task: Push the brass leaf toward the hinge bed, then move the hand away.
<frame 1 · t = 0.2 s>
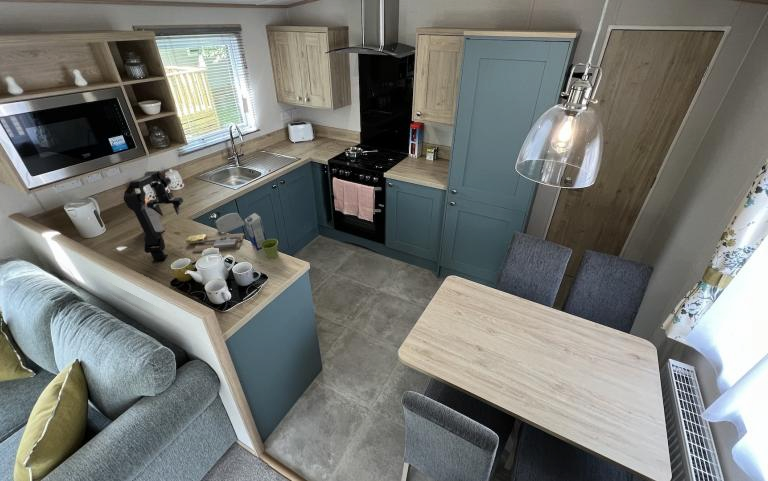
hand: (170, 215, 210), 14 cm above the kitchen counter, fingers open, 9 cm apart
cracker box: (156, 229, 224), on the kitchen counter
grey rounded flat block: (230, 227, 223), on the kitchen counter
brass leaf: (196, 238, 208), point 3 cm above the kitchen counter, slide at 8.0 cm
hinge bed: (219, 243, 207), on the kitchen counter
milk carton: (260, 246, 204), on the kitchen counter
plant pot: (272, 256, 195), on the kitchen counter
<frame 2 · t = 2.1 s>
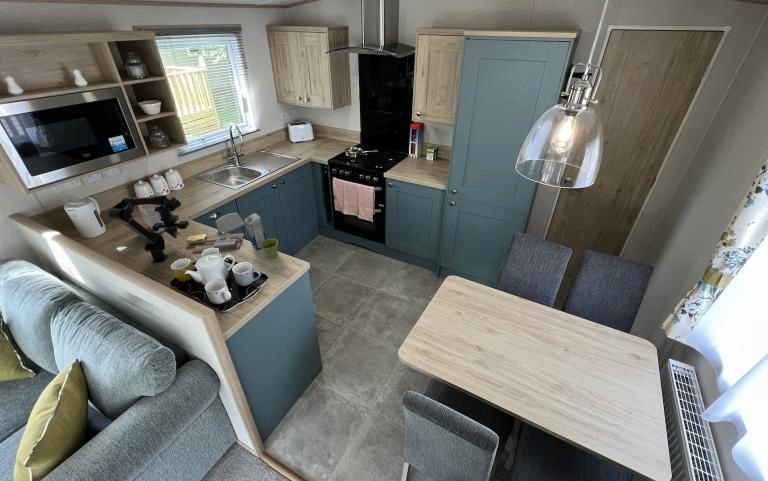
hand: (175, 238, 205), 5 cm above the kitchen counter, fingers closed
nothing on the kitchen counter moved.
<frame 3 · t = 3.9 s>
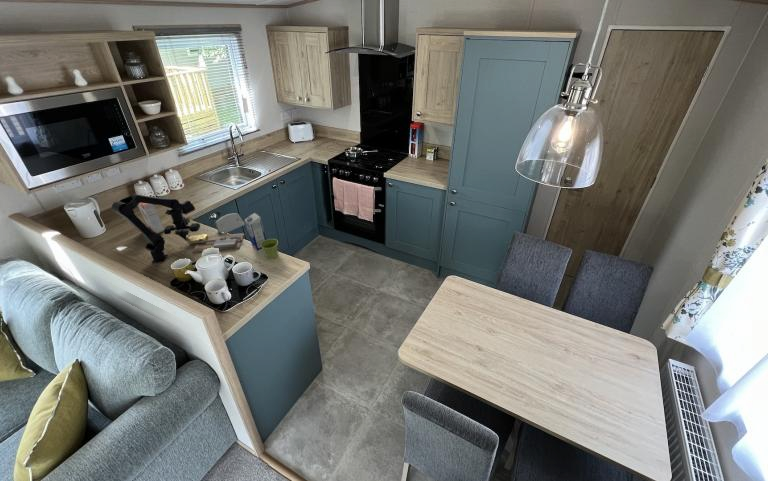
hand: (187, 240, 207), 2 cm above the kitchen counter, fingers closed
brass leaf: (197, 238, 208), point 3 cm above the kitchen counter, slide at 7.3 cm, touching gripper
everything else where it was.
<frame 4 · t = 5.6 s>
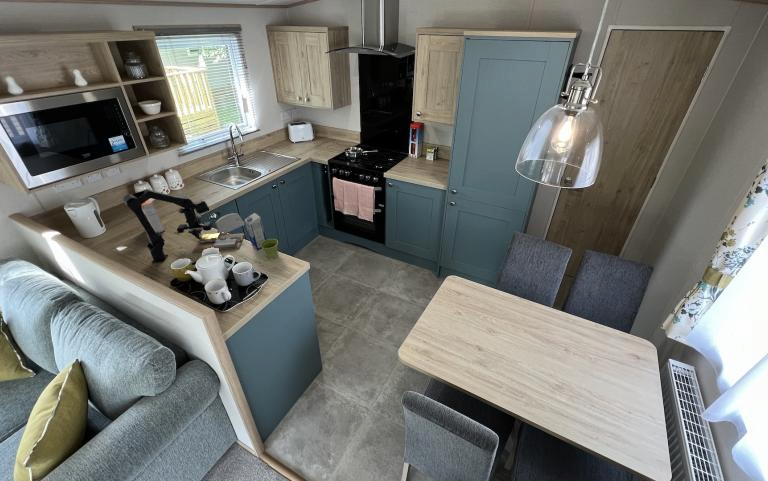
hand: (199, 239, 208), 2 cm above the kitchen counter, fingers closed
brass leaf: (210, 237, 209), point 3 cm above the kitchen counter, slide at 0.0 cm, touching gripper
everything else where it was.
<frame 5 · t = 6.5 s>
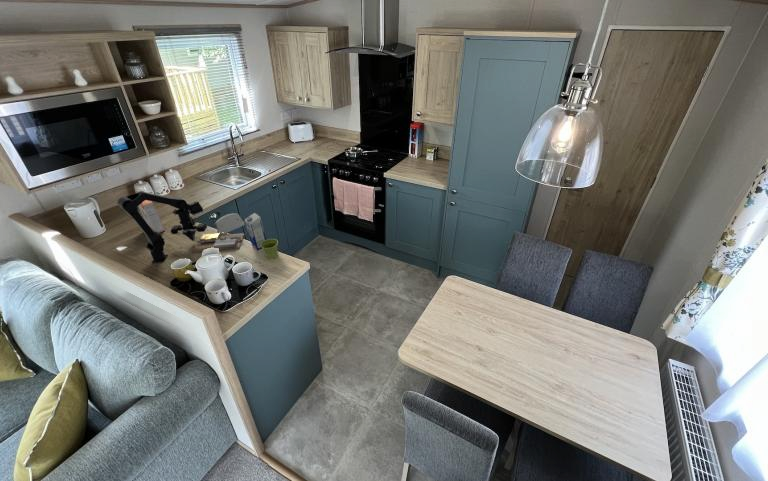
hand: (193, 240, 208), 2 cm above the kitchen counter, fingers closed
brass leaf: (210, 237, 209), point 3 cm above the kitchen counter, slide at 0.0 cm
everything else where it was.
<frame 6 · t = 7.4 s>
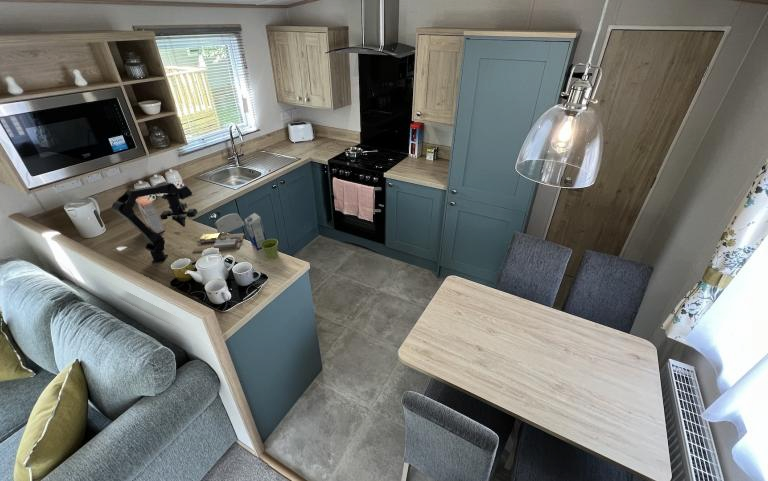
hand: (184, 226, 204), 11 cm above the kitchen counter, fingers closed
nothing on the kitchen counter moved.
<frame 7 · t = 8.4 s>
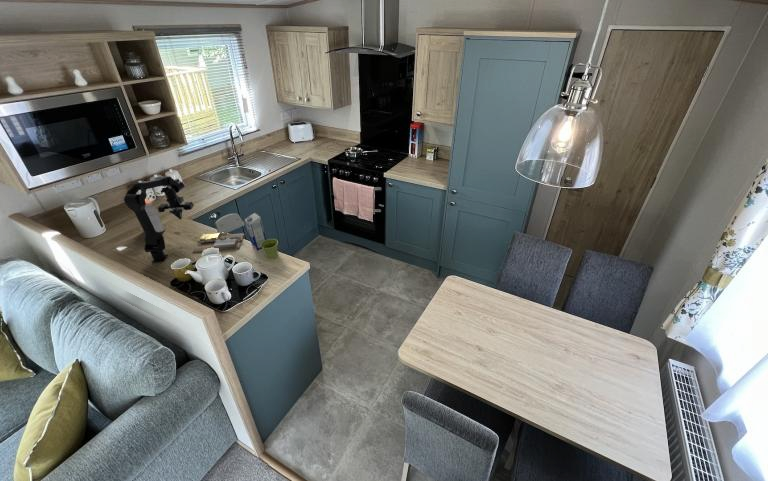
hand: (180, 219, 211), 11 cm above the kitchen counter, fingers closed
nothing on the kitchen counter moved.
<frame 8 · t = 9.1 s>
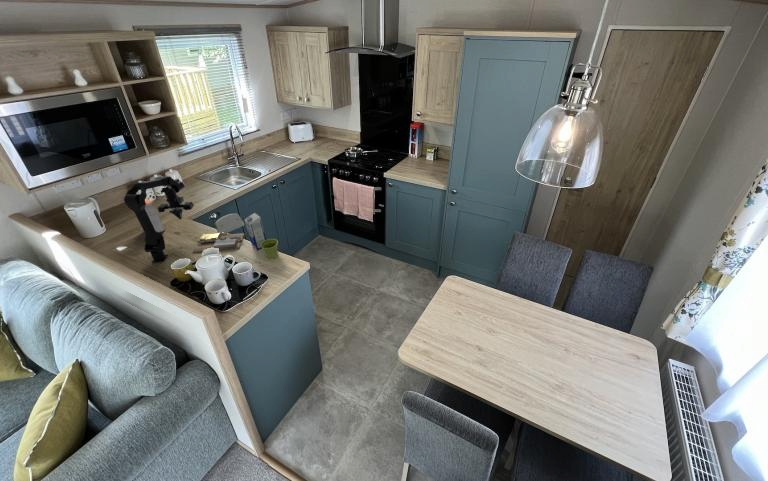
hand: (180, 219, 211), 11 cm above the kitchen counter, fingers closed
nothing on the kitchen counter moved.
at the end: brass leaf slide at 0.0 cm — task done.
